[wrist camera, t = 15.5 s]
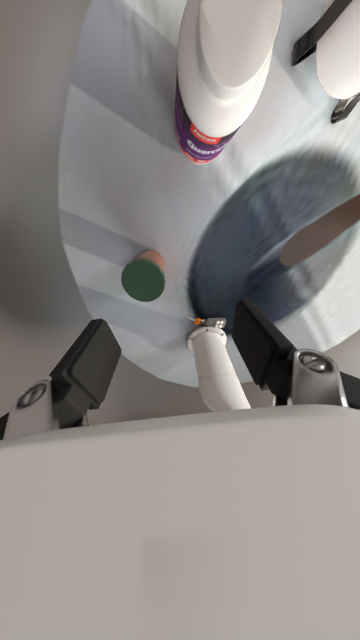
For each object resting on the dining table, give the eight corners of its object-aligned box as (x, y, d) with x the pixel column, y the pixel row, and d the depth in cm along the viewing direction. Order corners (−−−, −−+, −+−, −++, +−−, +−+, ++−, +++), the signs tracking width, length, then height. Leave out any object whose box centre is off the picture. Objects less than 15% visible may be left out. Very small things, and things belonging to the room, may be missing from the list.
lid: (117, 260, 22) (114, 263, 21) (161, 255, 22) (160, 257, 21) (131, 299, 26) (129, 304, 25) (168, 295, 26) (167, 299, 25)
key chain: (225, 316, 42) (227, 319, 41) (222, 326, 44) (223, 329, 43) (182, 314, 41) (182, 317, 40) (181, 324, 43) (181, 327, 42)
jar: (166, 275, 34) (165, 295, 25) (141, 279, 34) (132, 299, 25) (161, 247, 30) (158, 259, 22) (134, 251, 30) (119, 265, 22)
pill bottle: (179, 171, 24) (187, 128, 12) (168, 86, 19) (165, -123, 7) (228, 160, 23) (286, 103, 11) (230, 70, 18) (332, -184, 7)
